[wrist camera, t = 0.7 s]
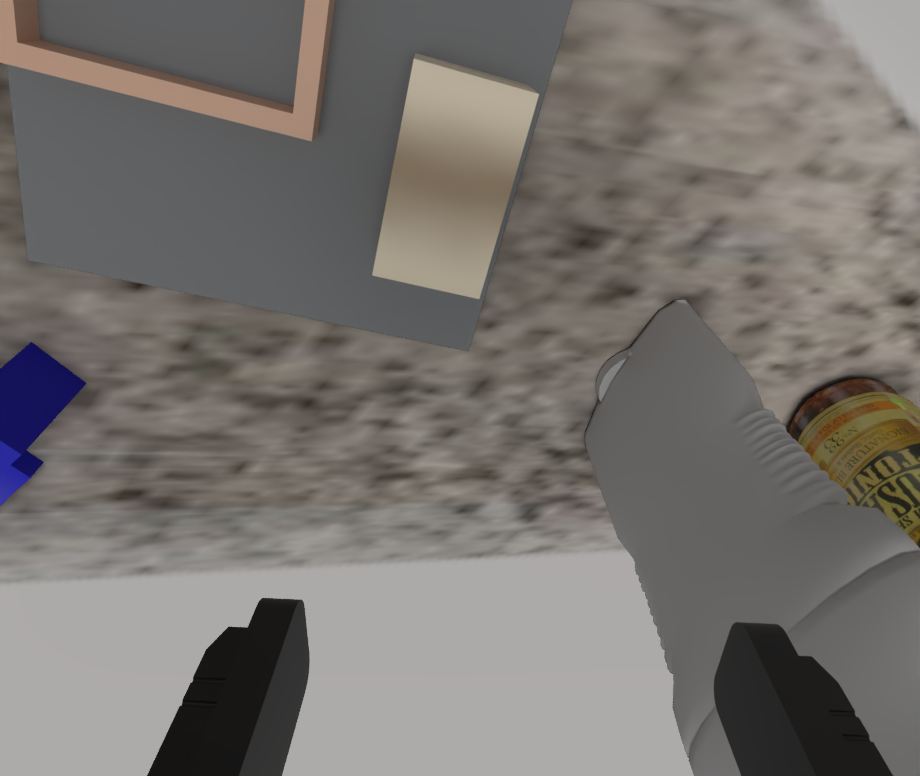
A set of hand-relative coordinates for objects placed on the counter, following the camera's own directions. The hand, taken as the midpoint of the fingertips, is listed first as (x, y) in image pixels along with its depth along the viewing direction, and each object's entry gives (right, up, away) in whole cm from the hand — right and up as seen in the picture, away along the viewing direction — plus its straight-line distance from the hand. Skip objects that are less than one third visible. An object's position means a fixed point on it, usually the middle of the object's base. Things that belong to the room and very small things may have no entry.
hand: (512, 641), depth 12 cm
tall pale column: (+8, +5, +21) cm, 23 cm away
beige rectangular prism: (-2, +14, +14) cm, 20 cm away
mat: (-8, +15, +14) cm, 22 cm away
